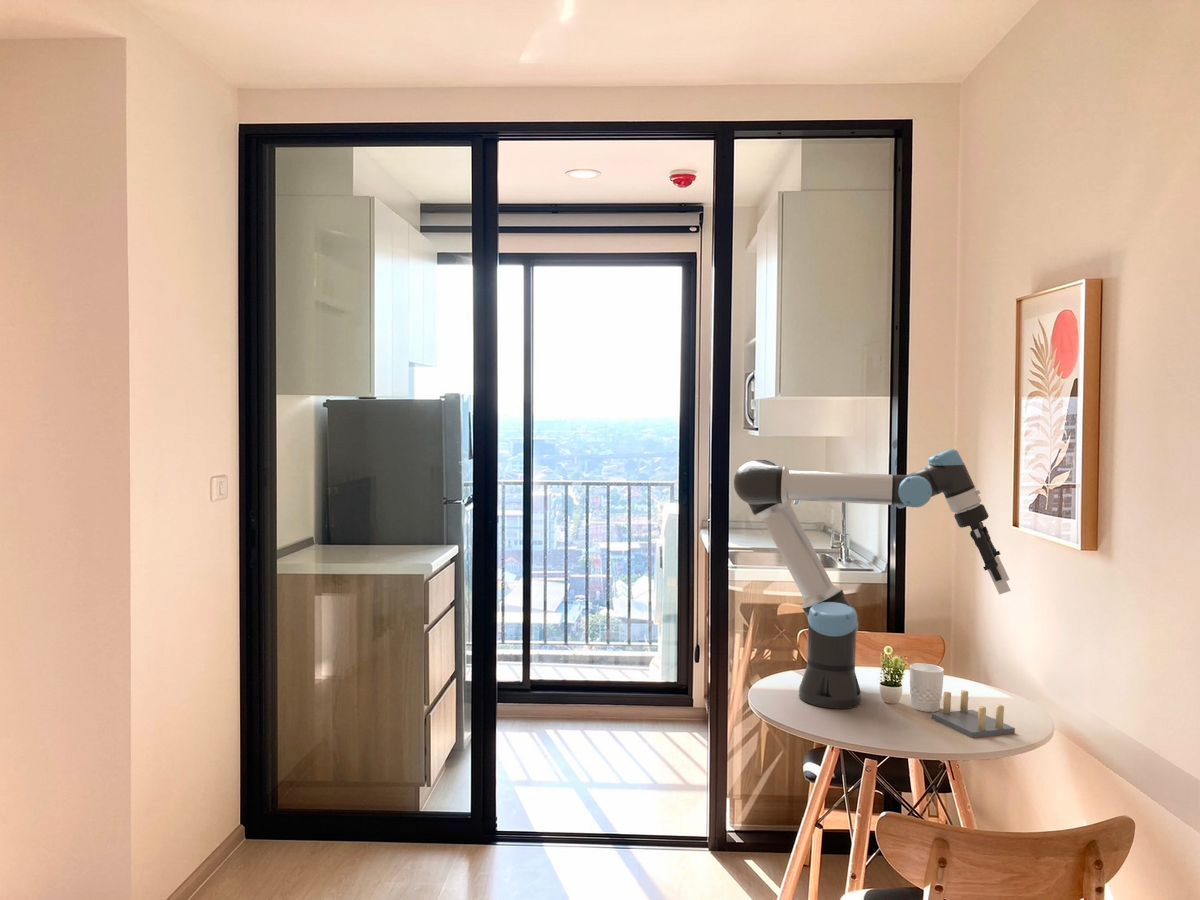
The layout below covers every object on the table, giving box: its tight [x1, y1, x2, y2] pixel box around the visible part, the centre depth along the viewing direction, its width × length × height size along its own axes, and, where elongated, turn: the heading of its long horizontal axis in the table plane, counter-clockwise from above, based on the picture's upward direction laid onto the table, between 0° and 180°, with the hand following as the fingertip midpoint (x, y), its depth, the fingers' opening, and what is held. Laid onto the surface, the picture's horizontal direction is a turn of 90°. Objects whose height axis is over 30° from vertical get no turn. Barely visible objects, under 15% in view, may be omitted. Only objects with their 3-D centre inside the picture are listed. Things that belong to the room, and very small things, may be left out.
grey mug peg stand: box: [931, 689, 1016, 739], centre depth 192 cm, size 12×13×6 cm
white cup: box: [909, 662, 945, 713], centre depth 204 cm, size 8×8×10 cm
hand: (1004, 586), depth 208 cm, fingers open, 13 cm apart
